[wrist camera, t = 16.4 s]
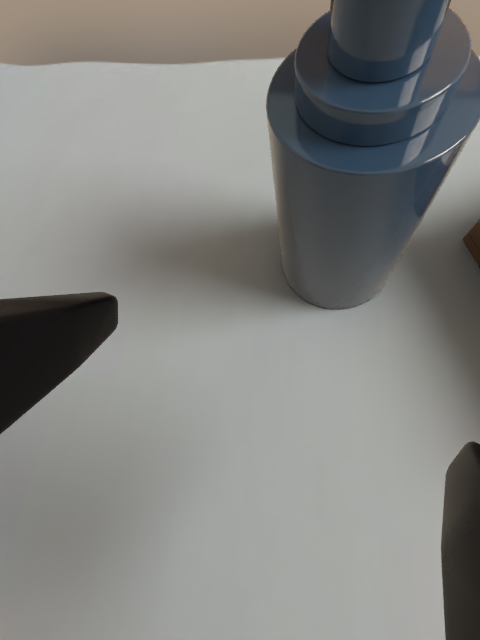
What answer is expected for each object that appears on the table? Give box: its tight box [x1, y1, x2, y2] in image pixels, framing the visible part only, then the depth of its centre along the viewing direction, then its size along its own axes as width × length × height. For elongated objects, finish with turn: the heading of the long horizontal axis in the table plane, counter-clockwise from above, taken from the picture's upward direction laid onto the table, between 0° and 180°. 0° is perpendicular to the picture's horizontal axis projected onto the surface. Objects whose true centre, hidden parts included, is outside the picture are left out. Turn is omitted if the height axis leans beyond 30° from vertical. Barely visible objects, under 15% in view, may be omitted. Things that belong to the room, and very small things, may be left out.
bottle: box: [266, 0, 480, 309], centre depth 11 cm, size 6×6×14 cm
